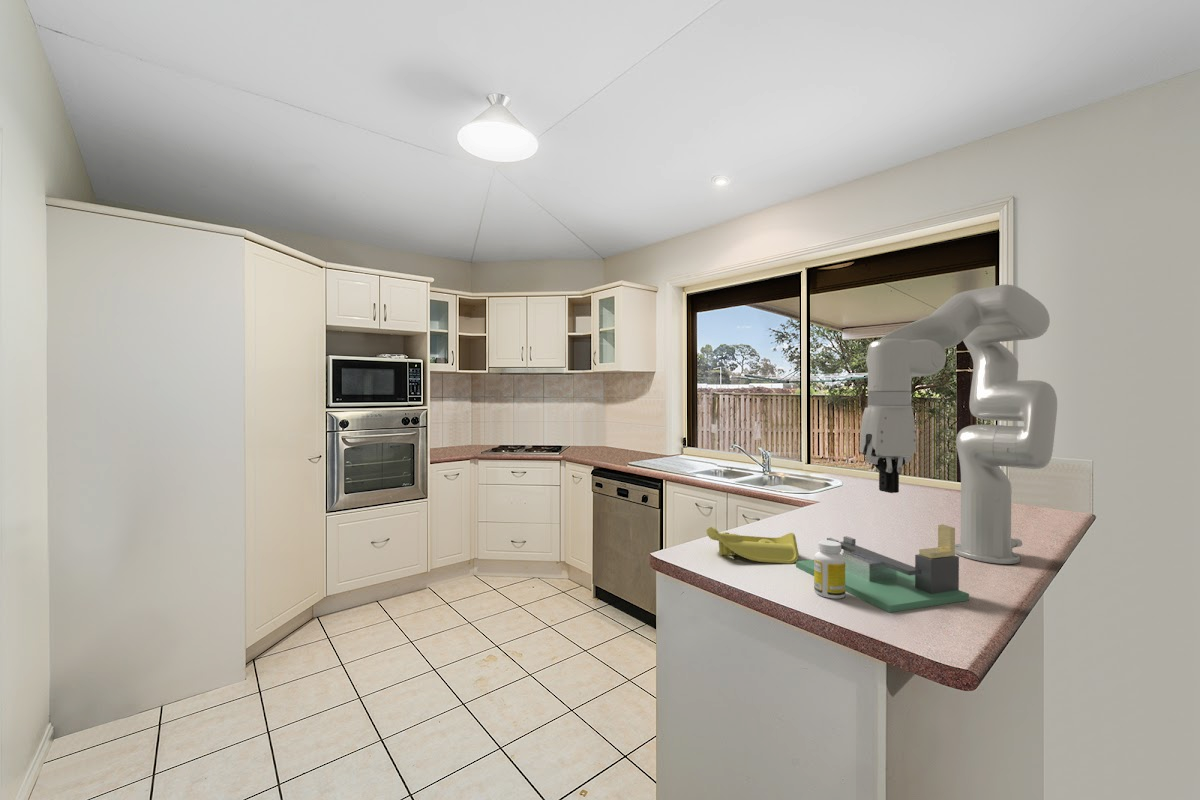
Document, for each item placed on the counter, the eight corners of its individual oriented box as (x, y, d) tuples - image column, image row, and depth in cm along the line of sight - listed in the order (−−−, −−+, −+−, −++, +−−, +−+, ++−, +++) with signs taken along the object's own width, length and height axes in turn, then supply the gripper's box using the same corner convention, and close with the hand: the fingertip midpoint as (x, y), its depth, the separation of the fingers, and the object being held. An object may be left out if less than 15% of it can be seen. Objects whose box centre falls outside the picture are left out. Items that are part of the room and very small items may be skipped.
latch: (942, 552, 94) (942, 524, 94) (954, 555, 92) (955, 527, 92) (919, 554, 92) (919, 526, 92) (931, 558, 90) (931, 529, 90)
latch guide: (942, 583, 94) (942, 551, 94) (958, 589, 91) (958, 556, 91) (915, 587, 92) (915, 554, 92) (930, 593, 89) (931, 560, 89)
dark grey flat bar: (844, 545, 108) (844, 540, 108) (921, 574, 90) (921, 569, 90) (833, 546, 107) (833, 541, 107) (909, 576, 89) (909, 570, 89)
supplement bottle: (849, 594, 92) (849, 543, 92) (839, 602, 88) (839, 548, 88) (820, 586, 96) (820, 537, 96) (809, 593, 92) (809, 542, 92)
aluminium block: (868, 566, 104) (868, 550, 104) (896, 577, 97) (896, 560, 97) (842, 569, 102) (842, 553, 102) (869, 581, 95) (869, 563, 95)
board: (863, 559, 112) (864, 532, 113) (968, 600, 90) (969, 565, 90) (796, 566, 107) (796, 538, 107) (889, 612, 84) (889, 575, 84)
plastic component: (779, 538, 121) (796, 531, 112) (782, 569, 118) (800, 564, 109) (701, 533, 120) (713, 525, 111) (702, 563, 117) (714, 558, 108)
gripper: (901, 400, 102) (901, 486, 102) (844, 400, 98) (844, 490, 98) (935, 400, 95) (934, 493, 95) (874, 400, 91) (874, 497, 91)
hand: (888, 491), depth 97 cm, fingers closed
